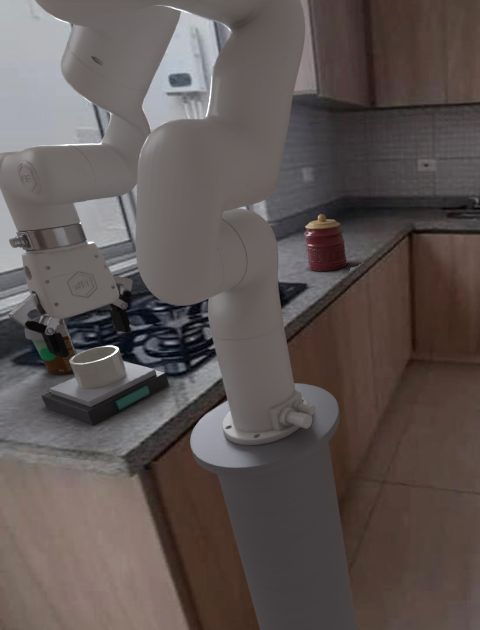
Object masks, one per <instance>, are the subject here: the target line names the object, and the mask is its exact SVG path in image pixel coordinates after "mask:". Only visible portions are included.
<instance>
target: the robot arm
mask: <svg viewBox="0 0 480 630" xmlns="http://www.w3.org/2000/svg"><path fill="white" fill-rule="evenodd" d="M34 1H35V3H36V4H37V5H38V6H39V7H40V8H41V9H42V10H44V12H46V13H47V15H50V16H51V17H53V18H54V19H56V20H58V21H61V22H64V23H66V24H71V25H72V27H71V30H70V32H69V36H68V39H67V42H66V44H65V49H64V51H63V54H62V56H61V60H60V65H59V66H60V72H61V75H62V77H63V79H64V80H65V81H66V83H67V84H68V85H69V87H71V89H73V90H74V92H76V93H77V94H78V95H79V96H81V97H82V98H84V99H85V100H86V101H88V102H89V103H91V104H93V105H94V106H96V107H97V108H100V109H102V110H103V111H105V112H107V113H109V122H108V125H107V127H106V131H105V133H104V134H103V137H102V139H101V141H100V143H72V144H71V143H64V144H45V145H44V144H43V145H34V146H29V147H26V148H23V149H21V150H13V151H3V152H0V192H1V195H2V197H3V200H4V202H5V204H6V206H7V209H8V212H9V214H10V216H11V219H12V221H13V224H14V226H15V228H16V229H15V230H16V232H15V233H16V236H14V237H12V238H9V240H8V242H9V244H10V246H11V247H12V248H13V249H17V248H20V249H21V248H22V251H25V253H22V254H21V259H22V260H21V261H22V268H23V273H24V277H25V280H26V285H27V288H28V291H29V295H28V296H27V297H26V298H25V299H23V300H22V301H21V302H20V303H19V304H18V305H17V306H15V307H14V308H13V309H12V310H11V311H10V312H9V313H8V317H9V318H10V319H11V320H13V321H14V322H15V323H17V324H18V325H20V326H21V327H22V328H24V329H25V328H26V329H29V330H32V331H35V332H37V333H41V334H42V336H43V338H44V341H45V343H46V346H47V348H48V350H49V352H50V353H51V354H54V355H55V356H59V357H64V358H65V357H67V356H68V355H69V352H68V350H67V347H66V345H65V342H64V340H63V337H62V335H61V333H59V332H56V328H57V326H58V324H59V321H60V319H63V318H64V319H69V318H72V317H75V316H77V315H81V314H84V313H87V312H90V311H94V310H95V309H96V310H97V309H99V308H102V307H105V306H108V307H111V308H110V309H109V315H110V318H111V321H112V323H113V327H114V329H115V331H116V332H120V333H125V334H127V333H130V332H131V331H132V330H131V327H130V325H131V321H130V319H129V316H128V312H127V310H126V309H127V308H128V306H129V305H128V303H129V301H130V300H131V299H130V298H131V297H132V289H133V285H134V284H133V283H134V280H133V279H132V278H128V277H124V276H118V275H113V273H112V271H111V269H110V266H109V265H108V263H107V261H106V258H105V257H104V255H103V254H102V252H101V250H100V249H99V248H98V246H97V244H96V243H95V241H88V239H87V236H86V232H85V230H84V228H83V224H82V222H81V219H80V217H79V213H78V210H77V208H76V204H77V203H82V202H87V201H92V200H101V199H108V198H117V197H121V196H124V195H126V194H128V193H129V192H131V191H132V190H133V189H134V188H135V187H136V212H135V213H136V215H135V257H136V264H137V269H138V273H139V275H140V278H141V279H142V282H143V283H144V285H145V287H146V289H148V291H149V292H150V293H151V294H152V295H153V297H154V296H155V297H156V298H157V299H158V300H159V301H162V302H163V303H165V304H168V305H171V306H172V305H173V306H176V307H177V306H178V307H179V306H181V307H182V306H183V307H184V306H191V305H196V304H200V303H201V302H204V301H206V300H208V301H207V319H208V323H209V330H210V334H211V338H212V343H213V347H214V352H215V354H216V359H217V362H218V363H217V364H218V367H219V371H220V376H221V379H222V383H223V387H224V392H225V396H226V400H228V404H229V408H230V411H229V412H228V413H227V415H226V416H225V417H224V420H223V422H222V429H223V433H224V435H225V437H226V438H227V439H229V440H230V441H232V442H234V443H237V444H242V445H260V444H266V443H270V442H274V441H277V440H280V439H282V438H285V437H286V436H288V435H290V434H292V433H294V432H295V431H296V430H298V429H299V428H300V427H302V428H309V427H310V425H311V424H312V416H311V415H313V414H314V413H315V406H312V405H309V404H308V402H307V400H306V399H305V398H303V397H302V396H301V391H297V390H295V386H294V383H295V382H294V375H293V370H292V364H291V357H290V353H289V347H288V342H287V336H286V329H285V323H284V316H283V310H282V305H281V297H280V290H279V289H280V288H279V247H278V241H277V238H276V234H275V232H274V230H273V228H272V226H271V225H270V224H269V223H268V221H267V220H266V219H265V218H264V217H262V215H260V214H258V213H257V212H255V211H252V210H250V209H246V208H245V207H249V206H253V205H256V204H259V203H262V202H264V201H266V200H268V199H269V198H270V197H272V196H273V194H274V192H275V191H276V190H277V187H278V184H279V181H280V176H281V171H282V167H283V166H282V165H283V160H284V155H285V154H284V153H285V150H286V149H285V147H286V143H287V137H288V132H289V125H290V119H291V112H292V105H293V99H294V92H295V87H296V84H297V79H298V75H299V72H300V71H299V70H300V67H301V62H302V57H303V52H304V47H305V41H306V40H305V39H306V22H305V21H306V20H305V14H304V9H303V5H302V2H301V0H34ZM182 13H185V14H189V15H192V16H195V17H198V18H201V19H204V20H206V21H207V20H208V21H211V22H215V23H218V24H221V25H222V26H224V27H225V28H227V29H228V30H229V34H230V35H229V37H228V39H227V40H226V42H225V43H224V44H223V46H222V48H221V50H220V51H219V54H218V55H217V57H216V60H215V62H214V65H213V67H212V72H211V76H210V88H209V89H210V90H209V99H208V105H207V110H206V114H205V117H204V118H178V119H172V120H168V121H165V122H163V123H161V124H160V125H158V126H157V127H155V128H154V129H153V130H152V129H151V125H150V122H149V121H150V120H149V118H148V115H147V114H146V111H145V109H144V102H145V99H146V97H147V95H148V93H149V91H150V88H151V87H152V83H153V82H154V79H155V77H156V74H157V72H158V70H159V68H160V66H161V64H162V61H163V59H164V57H165V54H166V52H167V49H168V48H169V45H170V43H171V40H172V39H173V36H174V34H175V32H176V29H177V27H178V24H179V21H180V18H181V14H182ZM117 285H119V287H118V286H117ZM33 309H35V310H36V311H37V313H38V315H39V316H41V318H40V320H39V322H35V321H33V320H32V319H31V318H30V316H29V313H30V312H31V311H33Z"/></svg>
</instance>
